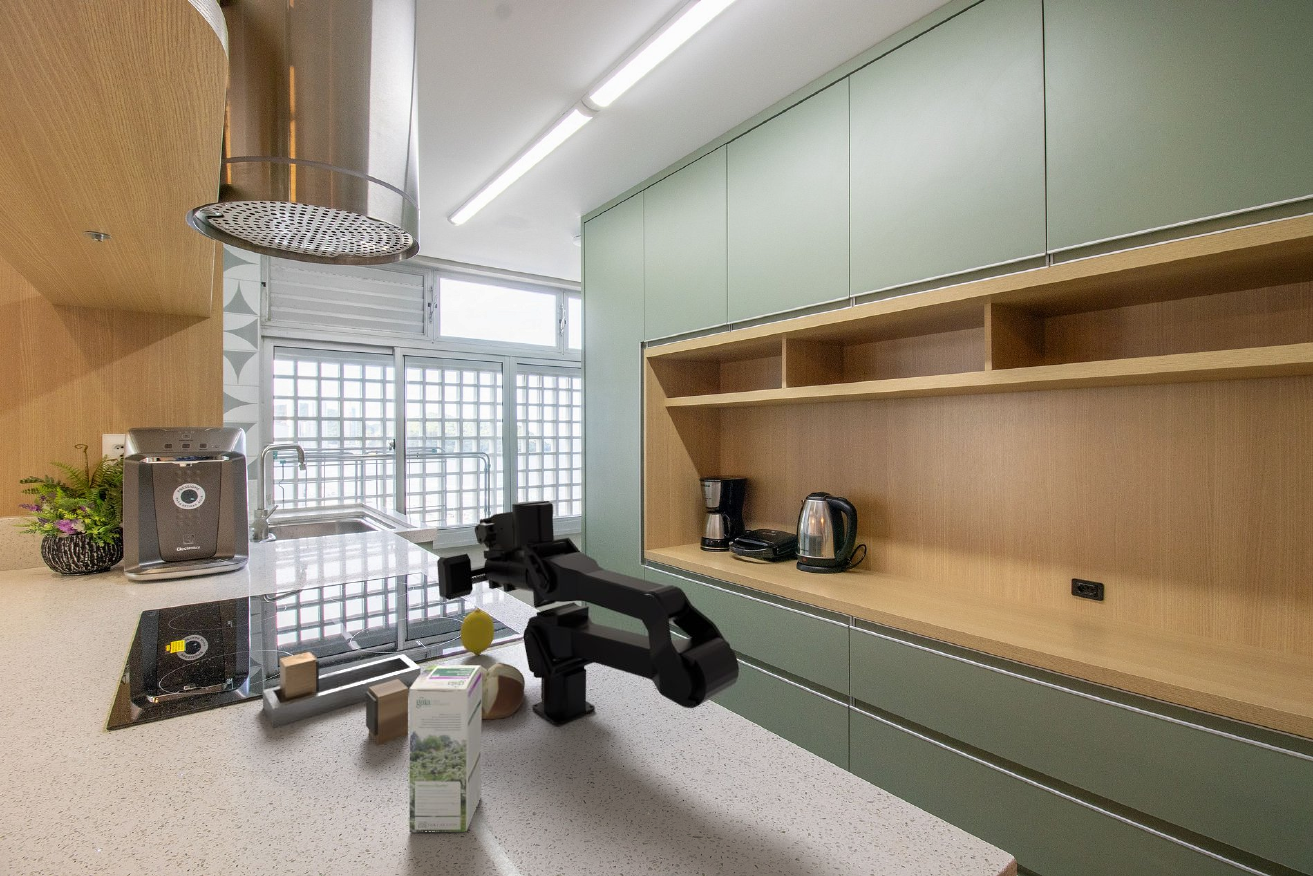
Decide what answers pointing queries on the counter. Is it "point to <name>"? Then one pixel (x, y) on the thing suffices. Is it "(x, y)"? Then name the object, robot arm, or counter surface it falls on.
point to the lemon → (477, 632)
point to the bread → (501, 691)
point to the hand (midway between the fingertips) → (470, 562)
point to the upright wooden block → (387, 711)
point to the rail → (328, 686)
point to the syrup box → (445, 748)
